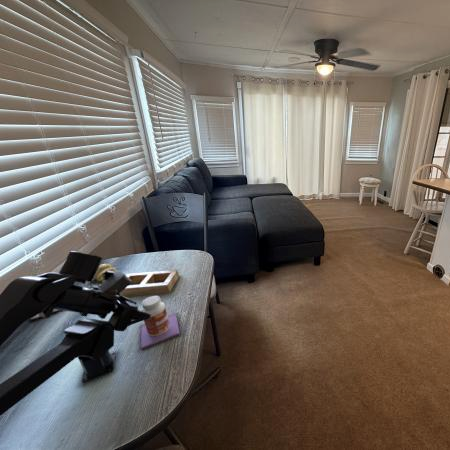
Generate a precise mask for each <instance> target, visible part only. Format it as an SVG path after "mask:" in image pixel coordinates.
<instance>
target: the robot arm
mask: <svg viewBox="0 0 450 450" xmlns="http://www.w3.org/2000/svg"><path fill="white" fill-rule="evenodd" d="M103 260H104V258H102V257H101V256H99V255H93V254H88V253H84V252H80V251H75V250H71V251H69V253H68V254H67V256H66V259H65V261H64V263H63V265H62V266H61V268H60V270H59V272H51V271H48V272H46V273H42V274H38V275H35V276H34V275H33V276H30V275H27V276H21V277H17V278H15V279H13V280H12V281H10V282H9V283H8V284H7V285H6V287H5V288H4V289H3V290H2V292H1V293H0V348H1V347H2V346H3V345H4V344H5V343H6V341H8V340H9V338H11V336H12V335H13V334H14V333H15V332H16V331H17V330H18V329H19V328H20V327H21V326H22V325H23V324H25V323H26V322H27V321H29V320H32V319H31V318H33V317H34V316H36V315H38V314H39V316H40V317H39V318H45V319H48V318H50V317H51V316H52V314H53V313H54V312H53V310H54V309H55V310H58V311H64V312H72V313H79V315H80V316H81V317H88V315H94V316H98V318H99V319H95V318H84V319H78V320H77V321H76V322H75V323H74V324H72V325H71V326H69V327H67V328H65V329H64V330H63V333H64V335H65V336H64V337H63V339H62V340H61V342H60V343H59V344H57V345H56V346H54V347H53V348H52V349H51V348H50V350H48V351H47V352H45V353H44V354H42V355H41V356H39V357H38V358H36V359H35V360H33V361H32V362H31V363H28V365H26V366H25V367H23V368H22V369H21V370H18V371H17V372H16V373H15V374H13V375H11V376H10V377H8V378H7V379H6V380H4V381H3V382H1V383H0V417H1V416H2V415H4V414H6V412H8V411H9V410H10V409H11V408H13V407H14V406H15V405H17V404H18V403H20V402H21V401H22V400H23V399H25V398H26V397H27V396H28V395H30V394H31V393H33V392H34V391H35V390H37V388H39V387H41V385H43V384H44V383H45V382H47V381H48V380H50V379H51V378H52V377H53V376H55V375H56V374H57V373H58V372H60V371H61V370H62V369H64V368H65V367H66V366H68V365H69V364H70V363H71V362H73V361H74V360H75V359H78V362H79V363H80V365H81V367H82V369H83V375H82V377H81V384H85V383H88V382H90V381H93V380H94V379H97V378H100V377H102V376H104V375H107V374H109V373H111V372H113V371H114V370H115V366H116V365H115V364H116V355H117V353H116V352H111V353H110V350H111V349H112V348H114V346H115V332H125V331H127V329H128V327H130V326H132V325H135V324H138V323H140V322H144V320H146V319H149V318H150V316H151V315H150V314H148V313H146V312H143V311H142V310H140V309H139V307H138V304H137V302H136V301H134V300H132V299H131V298H129V297H127V296H122V295H120V292H121V291H123V290H124V289H125V288H126V287H127V286H129V285H130V284H131V283H132V280H131V279H130V278H128V277H127V276H126V275H127V274H125V273H123V272H122V271H121V270H117V269H116V270H115V272H114V271H108V270H107V271H105V272H104V273H103V274H102V276H103V279H104V281H101V283H100V284H98V286H97V285H92V286H89V287H85V286H80V285H76V284H82V285H85V284H86V283H87V282H88V283H91V282H92V281H93V280H94V279H93V278H94V276H95V274H96V272H97V270H98V268H99V266H100V265H102V262H103ZM132 284H133V283H132ZM132 284H131V285H132ZM52 312H53V313H52ZM111 313H112V314H111ZM110 314H111V316H110V318H109V319H108V320H105V319H106V318H107V316H108V315H110Z"/></svg>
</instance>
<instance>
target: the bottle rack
mask: <svg viewBox="0 0 450 450" xmlns="http://www.w3.org/2000/svg"><path fill="white" fill-rule="evenodd" d="M125 275H126V276H127V277H128V278H130V279H131V280H132V283H131V284H130V285H129V286H127V287H126V288H125V289H124V290H123V291H121V292H120V295H122V296H124V297H131V296H133V297H134V296H141V295H155V294H165V293H170V292H171V290H172V289H173V287H174V285H175V284H176V283H177V281H178V280H179V278H180V274H179V270H178V269H171V270H170V269H169V270H158V271H157V270H156V271H144V272H133V273H132V272H131V273H126V274H125ZM159 281H160V282H159ZM161 281H162V282H161ZM163 281H164V282H163ZM136 283H139V284H136Z"/></svg>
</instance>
